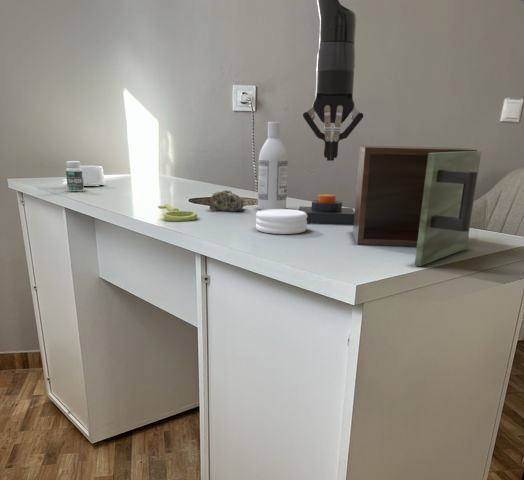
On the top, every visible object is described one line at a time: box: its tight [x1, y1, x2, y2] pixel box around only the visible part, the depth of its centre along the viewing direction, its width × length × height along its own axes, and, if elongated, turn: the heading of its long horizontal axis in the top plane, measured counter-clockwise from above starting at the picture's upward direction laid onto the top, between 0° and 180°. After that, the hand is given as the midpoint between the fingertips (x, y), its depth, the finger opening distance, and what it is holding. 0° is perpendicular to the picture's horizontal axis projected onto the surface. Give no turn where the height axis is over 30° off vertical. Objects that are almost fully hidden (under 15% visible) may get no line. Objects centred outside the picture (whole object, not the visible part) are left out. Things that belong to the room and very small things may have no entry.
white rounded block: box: [80, 165, 106, 186], centre depth 182 cm, size 12×10×6 cm
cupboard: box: [352, 144, 478, 248], centre depth 99 cm, size 12×18×16 cm, turn 85°
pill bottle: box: [65, 160, 85, 192], centre depth 165 cm, size 5×5×8 cm
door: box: [414, 150, 482, 267], centre depth 84 cm, size 6×18×16 cm, turn 140°
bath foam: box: [257, 121, 289, 211], centre depth 134 cm, size 7×7×20 cm
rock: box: [208, 189, 244, 212], centre depth 134 cm, size 7×8×4 cm
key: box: [157, 203, 198, 222], centre depth 121 cm, size 7×12×2 cm, turn 45°
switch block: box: [298, 199, 355, 226], centre depth 122 cm, size 12×10×4 cm
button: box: [318, 193, 336, 203], centre depth 121 cm, size 4×4×2 cm
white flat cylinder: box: [255, 208, 308, 235], centre depth 109 cm, size 10×10×4 cm
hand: (330, 160), depth 118 cm, fingers closed
